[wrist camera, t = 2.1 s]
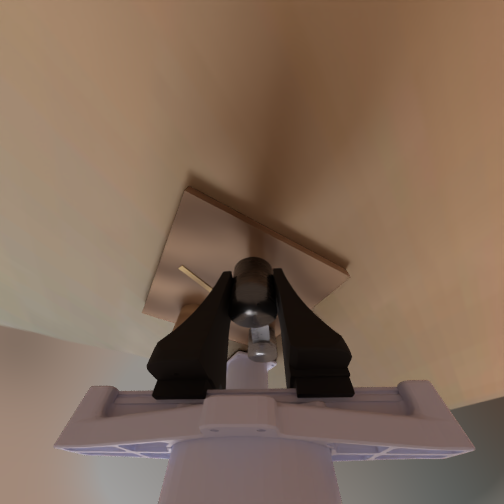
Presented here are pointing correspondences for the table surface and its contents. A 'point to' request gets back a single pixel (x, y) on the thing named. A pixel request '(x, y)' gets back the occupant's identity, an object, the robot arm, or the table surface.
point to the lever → (255, 306)
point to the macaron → (185, 314)
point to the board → (229, 260)
